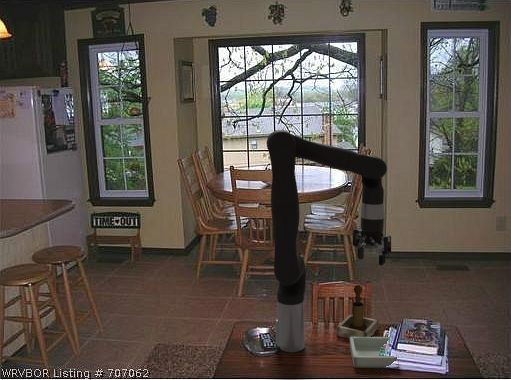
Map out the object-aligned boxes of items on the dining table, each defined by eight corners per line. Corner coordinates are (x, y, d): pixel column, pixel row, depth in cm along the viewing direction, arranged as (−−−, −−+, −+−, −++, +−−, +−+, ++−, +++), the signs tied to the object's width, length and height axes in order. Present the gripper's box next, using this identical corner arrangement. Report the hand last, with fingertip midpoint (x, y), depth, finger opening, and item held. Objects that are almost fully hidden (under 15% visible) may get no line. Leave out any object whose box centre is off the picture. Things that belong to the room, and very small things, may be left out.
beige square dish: (337, 335, 190) (337, 326, 189) (350, 322, 200) (350, 314, 199) (366, 342, 184) (366, 333, 183) (377, 329, 194) (378, 320, 193)
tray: (353, 367, 168) (353, 357, 167) (349, 346, 182) (349, 336, 181) (398, 368, 167) (398, 357, 166) (390, 346, 181) (391, 337, 180)
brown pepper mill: (368, 336, 188) (368, 289, 185) (350, 336, 189) (350, 289, 185) (364, 328, 195) (365, 282, 192) (347, 328, 195) (347, 282, 192)
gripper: (348, 214, 178) (347, 259, 181) (383, 221, 168) (381, 269, 171) (362, 210, 183) (361, 254, 186) (397, 217, 172) (395, 264, 176)
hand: (370, 261), depth 179 cm, fingers open, 8 cm apart
